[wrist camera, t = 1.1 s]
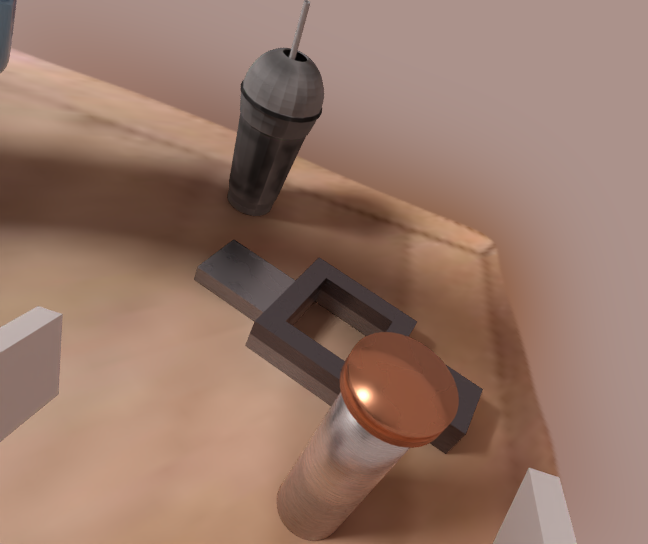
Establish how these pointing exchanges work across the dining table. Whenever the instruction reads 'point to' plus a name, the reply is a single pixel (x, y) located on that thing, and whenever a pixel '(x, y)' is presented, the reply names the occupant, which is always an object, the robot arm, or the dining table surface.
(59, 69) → the dining table surface
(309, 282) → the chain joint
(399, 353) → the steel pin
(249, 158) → the beverage cup
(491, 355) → the dining table surface
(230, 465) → the dining table surface
